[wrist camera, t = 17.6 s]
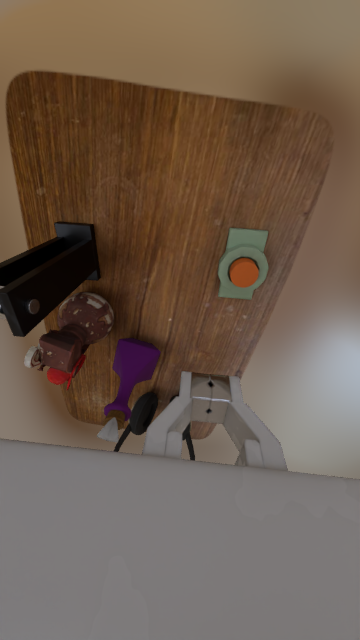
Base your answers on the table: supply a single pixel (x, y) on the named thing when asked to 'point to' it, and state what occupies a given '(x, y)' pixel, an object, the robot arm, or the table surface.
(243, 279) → the button
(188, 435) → the headphones
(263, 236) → the button box
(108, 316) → the chocolate birthday cake
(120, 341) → the perfume bottle
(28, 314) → the bracket
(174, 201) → the table surface
